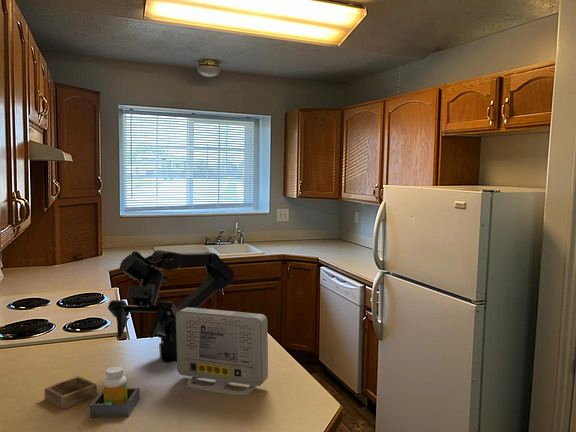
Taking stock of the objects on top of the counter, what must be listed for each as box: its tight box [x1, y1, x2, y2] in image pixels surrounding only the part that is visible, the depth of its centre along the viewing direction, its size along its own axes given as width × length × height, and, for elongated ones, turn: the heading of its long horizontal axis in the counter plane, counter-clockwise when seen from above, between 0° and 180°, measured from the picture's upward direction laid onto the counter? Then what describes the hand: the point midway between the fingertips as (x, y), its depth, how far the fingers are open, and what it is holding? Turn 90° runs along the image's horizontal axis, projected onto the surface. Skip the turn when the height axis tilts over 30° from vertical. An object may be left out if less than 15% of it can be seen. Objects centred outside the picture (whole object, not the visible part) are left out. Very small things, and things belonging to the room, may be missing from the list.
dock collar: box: [89, 387, 141, 419], centre depth 114 cm, size 9×9×4 cm
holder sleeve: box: [43, 375, 98, 410], centre depth 120 cm, size 9×9×3 cm
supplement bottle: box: [102, 365, 128, 403], centre depth 114 cm, size 5×5×10 cm
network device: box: [176, 307, 269, 396], centre depth 126 cm, size 26×9×20 cm, turn 71°
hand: (135, 337), depth 128 cm, fingers open, 9 cm apart
